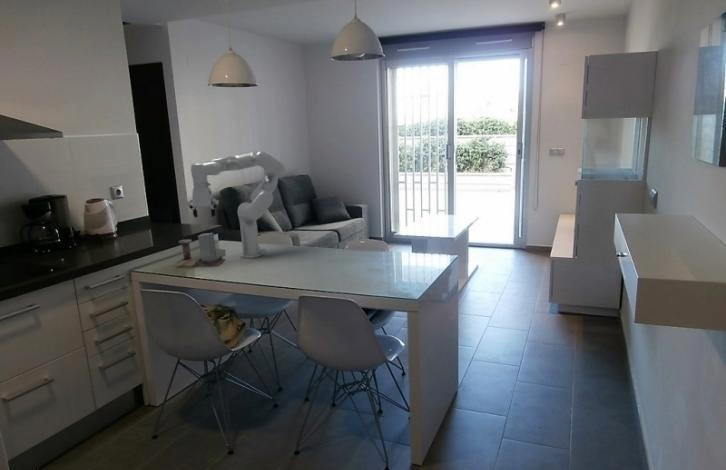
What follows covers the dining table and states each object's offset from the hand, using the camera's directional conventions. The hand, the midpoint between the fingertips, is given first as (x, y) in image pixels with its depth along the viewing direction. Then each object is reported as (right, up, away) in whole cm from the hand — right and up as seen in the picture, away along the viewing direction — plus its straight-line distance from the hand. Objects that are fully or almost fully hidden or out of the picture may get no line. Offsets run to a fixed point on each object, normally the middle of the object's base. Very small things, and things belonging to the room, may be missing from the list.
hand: (204, 216), depth 273 cm
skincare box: (+1, -25, +5) cm, 26 cm away
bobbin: (-15, -25, +15) cm, 33 cm away
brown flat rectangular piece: (-4, -27, +6) cm, 27 cm away
